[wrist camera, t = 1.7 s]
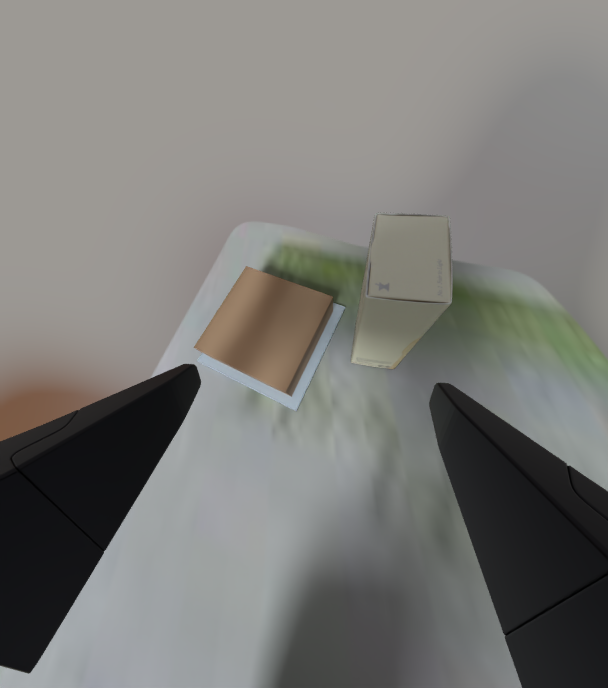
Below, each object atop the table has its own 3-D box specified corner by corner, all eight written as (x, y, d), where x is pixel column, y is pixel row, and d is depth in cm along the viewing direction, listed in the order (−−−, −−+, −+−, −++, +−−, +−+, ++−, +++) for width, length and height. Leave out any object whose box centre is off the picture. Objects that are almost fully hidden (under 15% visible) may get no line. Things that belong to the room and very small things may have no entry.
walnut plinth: (333, 311, 25) (333, 296, 22) (291, 396, 23) (285, 392, 20) (255, 282, 28) (246, 266, 25) (209, 356, 25) (193, 347, 22)
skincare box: (394, 370, 23) (456, 310, 11) (348, 363, 23) (362, 300, 12) (398, 313, 25) (455, 213, 13) (355, 308, 25) (374, 209, 14)
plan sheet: (345, 308, 25) (345, 306, 25) (296, 411, 22) (296, 411, 22) (252, 275, 28) (252, 273, 28) (198, 362, 25) (196, 361, 25)
